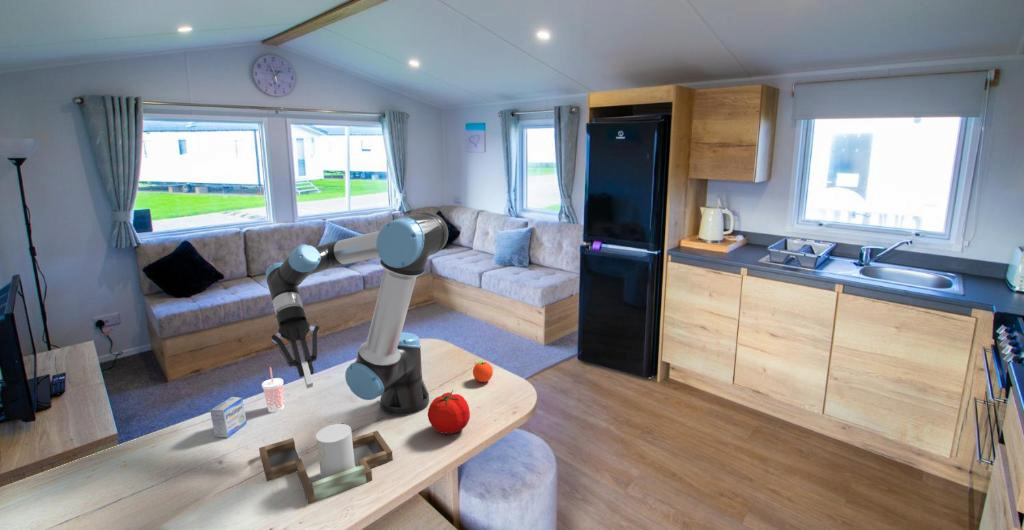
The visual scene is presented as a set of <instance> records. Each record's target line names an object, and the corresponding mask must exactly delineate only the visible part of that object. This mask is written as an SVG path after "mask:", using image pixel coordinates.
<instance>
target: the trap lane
mask: <svg viewBox="0 0 1024 530" xmlns="http://www.w3.org/2000/svg"><path fill="white" fill-rule="evenodd" d="M340 424H344V422H341V423H340ZM352 442H353V452H354V461H355V464H356V466H355V468H352V469H349V470H346V471H344V472H341V473H338V474H335V475H332V476H329V477H326V478H323V479H321V478H320V479H318V480H314V481H313V482H311V481H310V479H309V476H308V473H307V470H306V467H305V465H304V462H303V459H302V457H299V455H298V452H297V449H296V443H295V439H294V437H291V438H288V439H285V440H282V441H278V442H275V443H271V444H268V445H264V446H261V447H259V448H258V451H259V456H260V457H259V458H260V460H261V464H262V468H263V472H264V476H265V480H266V482H270V481H273V480H276V479H278V478H279V479H280V478H281V477H286V476H288V475H290V474H294V473H297V476H298V478H299V481H300V484H301V486H302V491H303V493H304V495H305V498H306V500H307V504H311V503H313V502H316V501H318V500H322V499H324V498H327V497H330V496H332V495H335V494H338V493H341V492H343V491H346V490H349V489H352V488H355V487H358V486H360V485H363V484H366V483H368V482H371V481H373V473H372V468H375V467H376V466H380V465H383V464H385V463H388V462H391V461H393V459H394V458H393V450H392V449H391V448H390V446H389V445H388V443H387V442H386V440H385V439H384V437H383V436H382V435H381V433H380V432H379V430H374V431H371V432H369V433H365V434H362V435H359V436H356V437H352ZM374 466H375V467H374Z"/></svg>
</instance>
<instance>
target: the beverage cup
mask: <svg viewBox="0 0 1024 530" xmlns="http://www.w3.org/2000/svg"><path fill="white" fill-rule="evenodd" d="M269 373H270V379H267V380H264V381H262V383H261V387H262V389H263V393H264V397H265V402H266V403H265V404H266V407H267V410H268V412H270V413H278V412H281V411H282V410H283V409H285V401H284V399H285V397H284V379H283V378H281V377H275V378H274V376H273V370H272V367H271V366H270V367H269ZM280 410H281V411H280Z"/></svg>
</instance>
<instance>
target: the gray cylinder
mask: <svg viewBox="0 0 1024 530" xmlns="http://www.w3.org/2000/svg"><path fill="white" fill-rule="evenodd" d="M315 438H316V447H317V454H318V455H317V456H318V463H319V471H320V479H323V478H326V477H329V476H332V475H335V474H338V473H341V472H344V471H346V470H349V469H352V468H355V467H356V465H355V464H356V463H355V461H354V452H353V442H352V438H353V433H352V428H351V426H349V425H348V424H345V423H343V424H341V423H335V424H330V425H327V426H325V427H322V428H321V429H320V430H319V431H317V433H316V435H315Z"/></svg>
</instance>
